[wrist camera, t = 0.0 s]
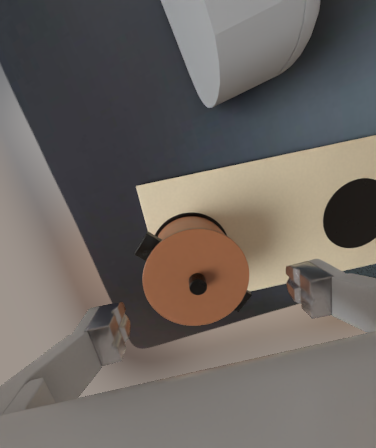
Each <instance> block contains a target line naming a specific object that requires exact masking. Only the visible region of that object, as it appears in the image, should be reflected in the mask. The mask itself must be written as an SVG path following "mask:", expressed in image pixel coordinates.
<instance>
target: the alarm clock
mask: <svg viewBox="0 0 376 448" xmlns="http://www.w3.org/2000/svg"><path fill="white" fill-rule="evenodd" d="M320 1H321V0H161V2H162V5H163V7H164V10H165V12H166V15H167V18H168V20H169V23H170V25H171V28H172V30H173V33H174V36H175V38H176V41H177V43H178V46H179V49H180V51H181V54H182V56H183V59H184V61H185V64H186V67H187V69H188V72H189V74H190V77H191V79H192V81H193V84H194V86H195V88H196V91H197V93H198V95H199V97H200V99H201V100H202V102H203V103H204V105H205V106H207V107H208V108H212V107H214V106H216V105H218V104H220V103H222V102H225V101H227V100H229V99H231V98H233V97H235V96H237V95H239V94H241V93H243V92H245V91H247V90H249V89H251V88H253V87H255V86H257V85H259V84H261V83H263V82H265V81H267V80H269V79H272V78H274V77H276V76H278V75H280V74H281V73H283V72H284V71H285V70H287V69H288V68H289V67H290V66H292V64H293V63H294V62H295V61H296V60H297V58H298V57H299V56H300V55H301V53H302V52H303V50H304V48H305V46H306V44H307V43H308V41H309V39H310V37H311V35H312V32H313V29H314V26H315V22H316V19H317V16H318V13H319V8H320Z"/></svg>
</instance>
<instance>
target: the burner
mask: <svg viewBox="0 0 376 448" xmlns="http://www.w3.org/2000/svg"><path fill="white" fill-rule="evenodd" d="M323 227H324V231H325V234H326V236H327V237H328V239H329V240H330V241H331V242H332V243H333V244H335V245H337V246H339V247H342V248H357V247H360V246H363V245H365V244H367V243H369V242H371V241H372V240H374V239H375V238H376V180H374V179H370V178H361V179H356V180H353V181H351V182H348V183H347V184H345V185H343V186H342V187H341V188H339V189H338V190H337V191H336V192H335V193H334V194H333V196H332V197H331V198H330V200H329V202H328V203H327V206H326V208H325V211H324V216H323Z"/></svg>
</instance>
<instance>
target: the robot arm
mask: <svg viewBox="0 0 376 448" xmlns="http://www.w3.org/2000/svg"><path fill="white" fill-rule="evenodd" d="M286 275H287V276H288V277H289V279H288V280H287V289H288V291H289V294H290V296H291V297H292V298H293V299H294V301H295V302H298V303H300V304H302V309H303V310H304V311H305V312H306V313H307V314H308V315H309V316H310V317H311V318H319V317H324V316H329V315H332V316H333V317H336V318H338V319H340V320H342V321H344V322H346V323H348V324H350V325H352V326H354V327H356V328H358V329H361V330H363V331H365V332H367V333H366V334H361V335H357V336H352V337H348V338H343V339H339V340H335V341H330V342H326V343H321V344H317V345H313V346H308V347H304V348H300V349H295V350H290V351H286V352H281V353H277V354H272V355H268V356H263V357H259V358H254V359H250V360H245V361H241V362H237V363H232V364H227V365H223V366H218V367H214V368H209V369H205V370H200V371H196V372H191V373H187V374H183V375H178V376H174V377H169V378H165V379H160V380H157V381H152V382H147V383H143V384H138V385H134V386H130V387H125V388H121V389H116V390H112V391H108V392H103V393H99V394H94V395H89V396H85V397H80V398H78V397H79V396H80V395H81V393H82V392H83V391H84V390H85V388H86V387H87V386H88V384H89V383H90V382H91V381H92V379H93V378H94V377H95V376H96V374H97V373H98V372H99V371H100V369H101V368H102V366H105V365H108V364H112V363H116V362H120V361H122V359H123V355H124V352H125V349H126V346H125V342H126V341H127V340H128V339H129V335H130V321H129V318H128V316H126V315H125V314H124V312H125V306H124V304H123V303H122V302H118V303H113V304H108V305H103V306H98V307H94V308H90V309H89V310H88V311H87V313H86V314H85V316H84V317H83V319H82V320H81V322H80V323H79V325H78V326H77V327H76V329H75V330H74V332H73V333H72V335H68V336H67V337H66V338H64V339H63V340H61V341H60V342H59V343H58V344H56V345H55V346H53V347H52V348H51V349H49V350H48V351H47V352H45V353H44V354H43V355H41V356H40V357H39V358H37V359H36V360H35V361H33V362H32V363H31V364H29V365H28V366H27V367H25V368H24V369H23V370H21V371H20V372H19V373H17V374H16V375H15V376H13V377H12V378H11V379H9V380H8V381H7V382H5V383H4V384H3V385H1V386H0V448H376V278H372V277H367V276H362V275H357V274H352V273H349V274H346V273H344V272H342V271H341V270H339V269H337V268H335V267H333V266H332V265H330V264H328V263H326V262H324V261H322V260H321V259H313V260H309V261H305V262H301V263H297V264H293V265H289V266H286Z"/></svg>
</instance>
